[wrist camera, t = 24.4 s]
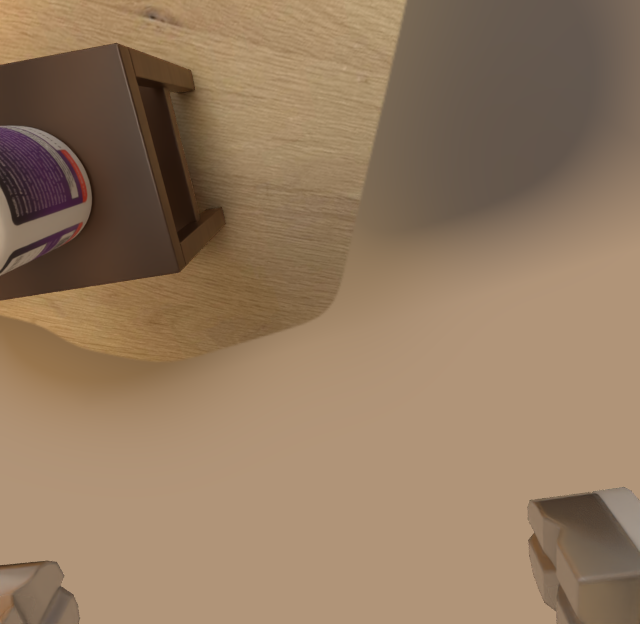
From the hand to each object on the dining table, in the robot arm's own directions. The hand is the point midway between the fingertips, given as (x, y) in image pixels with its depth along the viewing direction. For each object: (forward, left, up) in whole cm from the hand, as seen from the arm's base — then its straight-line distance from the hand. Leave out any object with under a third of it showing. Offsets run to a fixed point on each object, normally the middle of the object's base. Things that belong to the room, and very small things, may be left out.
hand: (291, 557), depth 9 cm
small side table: (+12, -6, -29) cm, 32 cm away
